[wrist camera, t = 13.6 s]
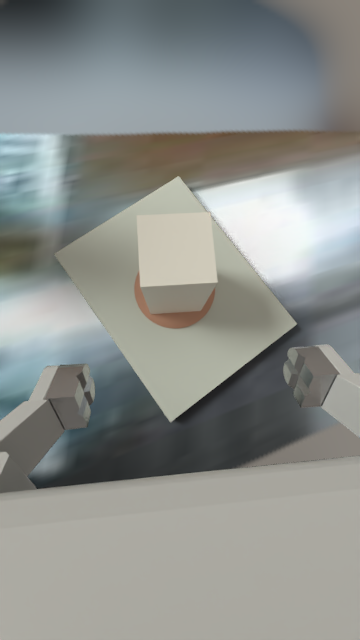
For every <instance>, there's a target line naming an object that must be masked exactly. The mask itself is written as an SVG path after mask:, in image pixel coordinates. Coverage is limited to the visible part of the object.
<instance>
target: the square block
mask: <svg viewBox="0 0 360 640" xmlns="http://www.w3.org/2000/svg"><path fill="white" fill-rule="evenodd" d="M137 234H138V254H139V274H140V288H141V290H142V293H143V296H144V298H145V301H146V303H147V306H148V309H149V311H150V314H163V313H178V312H193V311H201V310H202V308H203V306H204V305H205V303H206V301H207V300H208V298H209V296H210V295H211V293H212V291H213V290H214V288H215V286H216V284H217V283H218V280H217V271H216V261H215V251H214V242H213V232H212V222H211V213H210V212H199V213H177V214H155V215H137Z"/></svg>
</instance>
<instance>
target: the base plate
mask: <svg viewBox="0 0 360 640" xmlns="http://www.w3.org/2000/svg"><path fill="white" fill-rule="evenodd" d="M199 212H207V211H206V210H205V208H204V207H203V206H202V205H201V203H200V202H199V201H198V200H197V198H196V197H195V196H194V195H193V193H192V192H191V191H190V190H189V188H188V187H187V186H186V185H185V183H184V182H183V181H182V180H181V178H180V177H179V176H178V177H177V178H175V179H174V180H172V181H170V182H169V183H167V184H165V185H164V186H162V187H161V188H159V189H157V190H156V191H154V192H153V193H151V194H149V195H148V196H146V197H145V198H143V199H141V200H140V201H138V202H137V203H135V204H133V205H132V206H130V207H128V208H127V209H125V210H124V211H122V212H120V213H119V214H117V215H116V216H114V217H112V218H111V219H109V220H108V221H106V222H104V223H103V224H101V225H100V226H98V227H96V228H95V229H93V230H91V231H90V232H88V233H87V234H85V235H83V236H82V237H80V238H79V239H77V240H75V241H74V242H72V243H71V244H69V245H67V246H66V247H64V248H63V249H61V250H59V251H58V252H56V253H54V255H55V257H56V258H57V260H58V261H59V262H60V264H61V265H62V267H63V268H64V270H65V271H66V273H67V274H68V275H69V277H70V278H71V280H72V281H73V283H74V284H75V286H76V287H77V288H78V290H79V291H80V293H81V294H82V296H83V297H84V299H85V300H86V301H87V303H88V304H89V306H90V307H91V309H92V310H93V312H94V313H95V314H96V316H97V317H98V319H99V320H100V322H101V323H102V324H103V326H104V327H105V329H106V330H107V332H108V333H109V335H110V336H111V337H112V339H113V340H114V342H115V343H116V345H117V346H118V348H119V349H120V350H121V352H122V353H123V355H124V356H125V358H126V359H127V361H128V362H129V363H130V365H131V366H132V368H133V369H134V371H135V372H136V374H137V375H138V376H139V378H140V379H141V381H142V382H143V384H144V385H145V387H146V388H147V389H148V391H149V392H150V394H151V395H152V397H153V398H154V400H155V401H156V402H157V404H158V405H159V407H160V408H161V410H162V411H163V413H164V414H165V415H166V417H167V418H168V420H169V421H170V422H172V421H173V420H174V419H175V418H177V417H178V416H179V415H181V414H182V413H183V412H184V411H186V410H187V409H188V408H190V407H191V406H192V405H193V404H195V403H196V402H197V401H199V400H200V399H201V398H202V397H204V396H205V395H206V394H208V393H209V392H210V391H211V390H213V389H214V388H215V387H217V386H218V385H219V384H221V383H222V382H223V381H224V380H226V379H227V378H228V377H230V376H231V375H232V374H233V373H235V372H236V371H237V370H239V369H240V368H241V367H242V366H244V365H245V364H246V363H248V362H249V361H250V360H251V359H253V358H254V357H255V356H257V355H258V354H259V353H260V352H262V351H263V350H264V349H266V348H267V347H268V346H269V345H271V344H272V343H273V342H275V341H276V340H277V339H278V338H280V337H281V336H282V335H284V334H285V333H286V332H287V331H289V330H290V329H291V328H293V327H294V326H295V325H297V323H296V322H295V321H294V319H293V318H292V317H291V316H290V314H289V313H288V312H287V311H286V309H285V308H284V307H283V306H282V304H281V303H280V302H279V301H278V299H277V298H276V297H275V296H274V294H273V293H272V292H271V291H270V289H269V288H268V287H267V286H266V284H265V283H264V282H263V281H262V280H261V278H260V277H259V276H258V275H257V273H256V272H255V271H254V270H253V268H252V267H251V266H250V265H249V263H248V262H247V261H246V260H245V258H244V257H243V256H242V255H241V253H240V252H239V251H238V250H237V248H236V247H235V246H234V245H233V243H232V242H231V241H230V240H229V238H228V237H227V236H226V235H225V233H224V232H223V231H222V230H221V228H220V227H219V226H218V225H217V223H216V222H215V221H214V220H213V218H212V217H211V222H212V232H213V242H214V251H215V261H216V271H217V280H218V283H217V284H216V286H215V288H214V290H213V291H212V293H211V295H210V296H209V298H208V300H207V301H206V303H205V305H204V306H203V308H202V310H201V311H193V312H178V313H163V314H150V311H149V309H148V306H147V303H146V301H145V298H144V296H143V293H142V290H141V288H140V274H139V254H138V234H137V215H155V214H177V213H199Z"/></svg>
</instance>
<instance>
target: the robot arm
mask: <svg viewBox="0 0 360 640" xmlns="http://www.w3.org/2000/svg"><path fill="white" fill-rule="evenodd" d="M287 355H288V357H289V359H288V360H287V361H286V362H285V364H284V368H283V371H284V377H285V380H286V382H287V384H288V385H289V386H290V387H292V388H293V389H294V392H293V395H294V397H295V398H296V400H297V402H298V404H299V406H300V407H301V408H303V407H318V406H322V408H323V409H324V410H325V411H327V412H328V413H329V414H330V415H332V416H333V417H334V418H335V419H337V420H338V421H339V422H340V423H342V424H343V425H344V426H345V427H347V428H348V429H349V430H351V431H352V432H353V433H354V434H355V435H357V436H358V437H359V438H360V374H359V373H354V372H353V371H352V370H351V369H350V368H349V366H348V365H347V364H346V363H345V362H344V361H343V360H342V358H341V357H340V356H339V355H338V354H337V353H336V352H335V350H334V349H333V348H332V347H331V346H330V345H328V344H326V345H315V346H304V347H293V348H290V349H289V351H288V354H287ZM89 373H90V369H89V366H88V364H72V365H60V366H47V367H46V368H44V370H43V372H42V374H41V376H40V378H39V380H38V382H37V384H36V386H35V388H34V390H33V392H32V395H31V397H30V399H29V401H24V402H23V403H22V404H20V405H19V406H18V407H17V408H15V409H14V410H13V411H12V412H10V413H9V414H8V415H7V416H5V417H4V418H3V419H2V420H0V640H360V456H350V457H341V458H332V459H322V460H312V461H303V462H294V463H283V464H273V465H264V466H254V467H244V468H235V469H225V470H215V471H206V472H196V473H187V474H177V475H168V476H158V477H149V478H139V479H129V480H120V481H110V482H101V483H91V484H82V485H72V486H62V487H53V488H43V489H36V487H35V485H34V484H33V483H32V482H31V481H30V479H29V478H28V477H27V476H28V475H29V474H30V473H31V471H32V470H33V469H34V468H35V466H36V465H37V464H38V463H39V462H40V460H41V459H42V458H43V457H44V456H45V454H46V453H47V452H48V451H49V449H50V448H51V447H52V446H53V445H54V443H55V442H56V441H57V440H58V439H59V437H60V436H61V435H62V434H63V432H64V430H68V429H76V428H85V427H88V422H89V418H90V414H91V410H90V408H89V406H90V405H91V404H92V403H93V401H94V396H95V385H94V381H93V378H92V377H90V376H89Z"/></svg>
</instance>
